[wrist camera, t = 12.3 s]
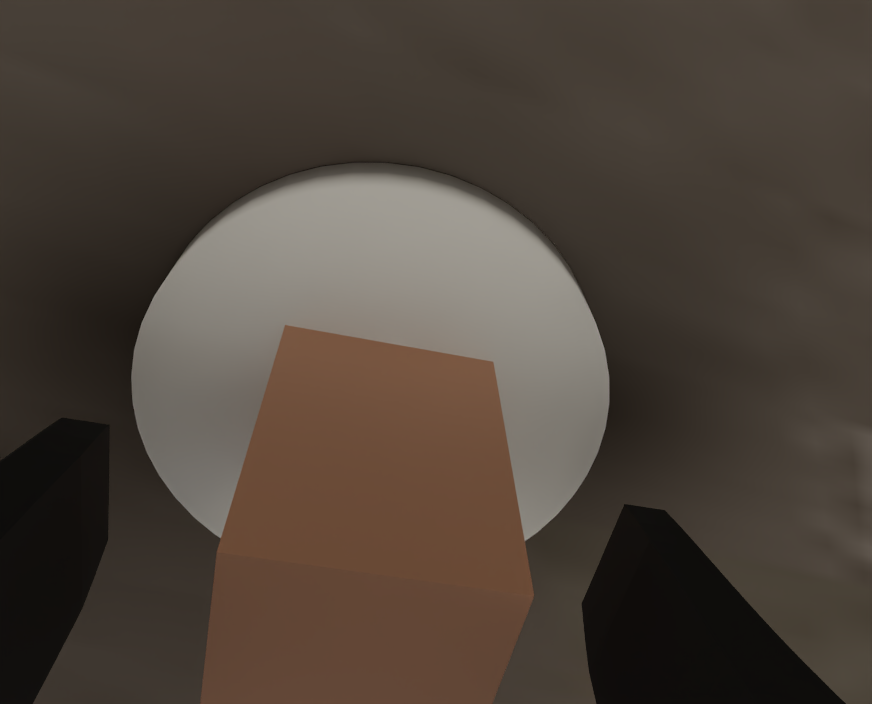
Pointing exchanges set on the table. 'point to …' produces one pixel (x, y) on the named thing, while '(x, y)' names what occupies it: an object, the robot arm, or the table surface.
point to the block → (369, 534)
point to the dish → (368, 321)
